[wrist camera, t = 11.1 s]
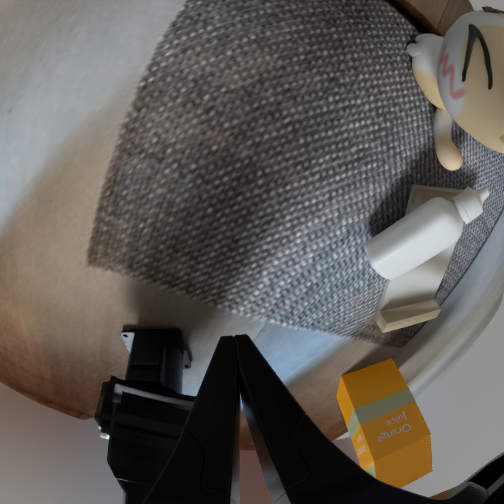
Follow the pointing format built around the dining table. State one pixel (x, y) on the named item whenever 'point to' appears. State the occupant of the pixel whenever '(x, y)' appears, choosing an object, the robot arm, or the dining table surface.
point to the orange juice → (385, 424)
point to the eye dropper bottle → (423, 233)
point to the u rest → (415, 276)
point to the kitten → (464, 81)
